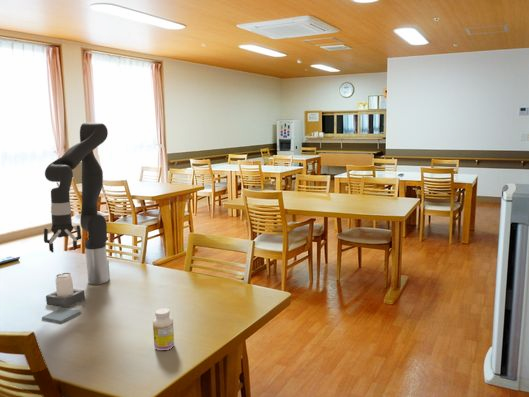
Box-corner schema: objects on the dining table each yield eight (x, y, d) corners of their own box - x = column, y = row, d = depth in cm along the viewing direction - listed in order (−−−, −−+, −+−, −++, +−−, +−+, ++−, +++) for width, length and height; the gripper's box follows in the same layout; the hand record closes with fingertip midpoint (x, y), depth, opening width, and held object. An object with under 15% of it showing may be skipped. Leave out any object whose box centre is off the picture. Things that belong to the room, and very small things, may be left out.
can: (68, 305, 194) (65, 277, 192) (54, 304, 195) (51, 277, 193) (77, 299, 200) (75, 272, 198) (64, 298, 201) (61, 272, 199)
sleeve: (66, 295, 204) (65, 287, 204) (84, 299, 200) (84, 290, 200) (46, 304, 195) (45, 295, 194) (65, 308, 191) (65, 299, 190)
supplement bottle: (156, 342, 159) (153, 307, 157) (175, 341, 160) (173, 306, 158) (153, 352, 153) (150, 315, 150) (173, 351, 153) (171, 314, 151)
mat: (62, 309, 189) (61, 307, 189) (81, 313, 185) (80, 310, 185) (42, 319, 180) (41, 317, 180) (61, 323, 176) (61, 320, 176)
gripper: (43, 215, 186) (45, 255, 188) (80, 212, 193) (82, 250, 195) (41, 212, 192) (44, 250, 194) (78, 210, 199) (80, 246, 201)
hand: (63, 250), depth 195 cm, fingers open, 8 cm apart
